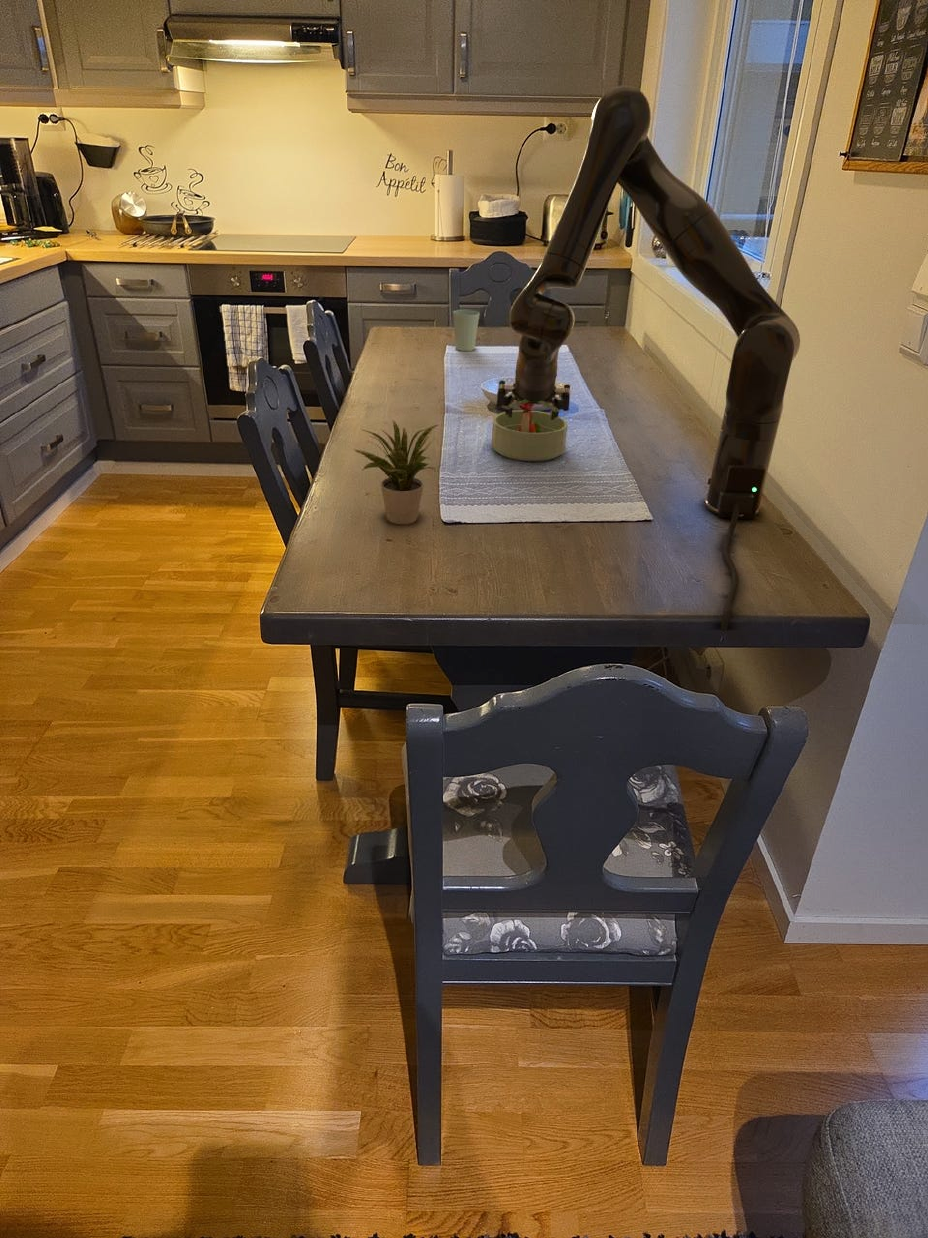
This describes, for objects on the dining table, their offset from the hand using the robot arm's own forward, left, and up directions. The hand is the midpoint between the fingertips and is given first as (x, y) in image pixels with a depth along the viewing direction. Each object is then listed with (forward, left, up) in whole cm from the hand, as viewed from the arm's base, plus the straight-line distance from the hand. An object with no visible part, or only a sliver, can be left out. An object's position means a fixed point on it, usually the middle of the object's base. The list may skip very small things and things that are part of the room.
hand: (531, 414), depth 169 cm
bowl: (+1, 0, -8) cm, 8 cm away
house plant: (-36, +21, -8) cm, 43 cm away
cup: (+86, +19, -8) cm, 89 cm away
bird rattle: (+1, 0, -7) cm, 7 cm away
